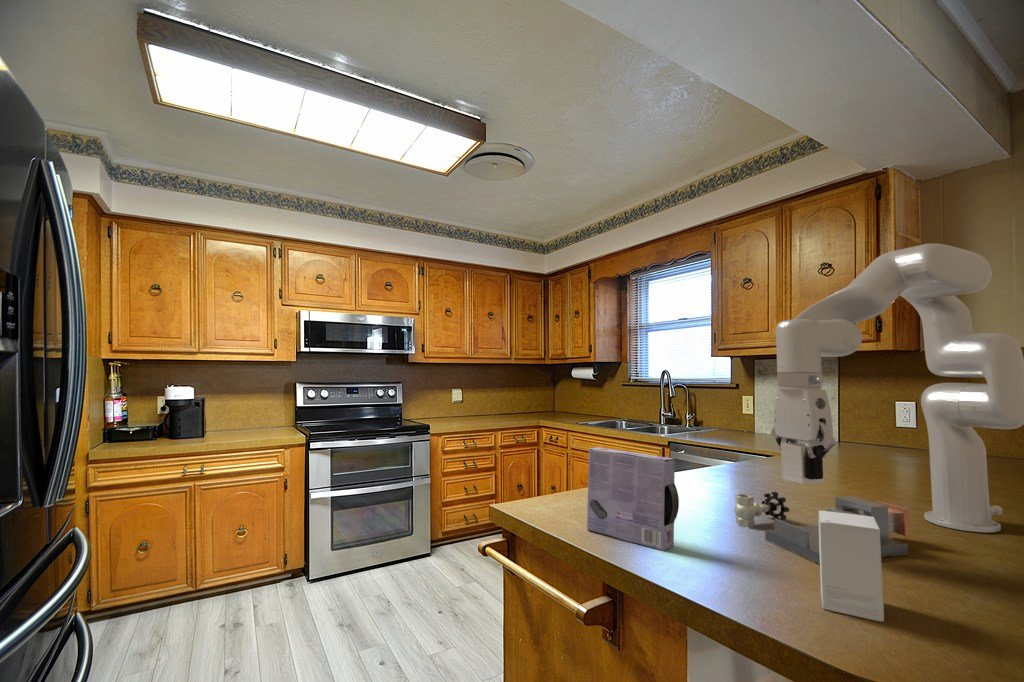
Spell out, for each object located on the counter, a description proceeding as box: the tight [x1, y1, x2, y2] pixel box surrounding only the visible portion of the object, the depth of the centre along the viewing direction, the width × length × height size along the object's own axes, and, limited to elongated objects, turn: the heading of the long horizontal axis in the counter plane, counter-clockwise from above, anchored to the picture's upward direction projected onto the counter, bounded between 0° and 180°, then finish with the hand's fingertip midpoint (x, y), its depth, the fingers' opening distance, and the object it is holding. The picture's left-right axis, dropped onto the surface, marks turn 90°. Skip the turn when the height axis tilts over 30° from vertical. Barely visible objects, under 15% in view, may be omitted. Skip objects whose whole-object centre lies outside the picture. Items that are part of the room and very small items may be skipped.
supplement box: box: [818, 510, 885, 623], centre depth 72 cm, size 7×7×13 cm
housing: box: [780, 441, 825, 485], centre depth 94 cm, size 6×5×7 cm
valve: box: [734, 491, 790, 528], centre depth 110 cm, size 7×7×12 cm
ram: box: [827, 500, 911, 537], centre depth 97 cm, size 14×6×5 cm, turn 103°
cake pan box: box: [586, 446, 680, 552], centre depth 101 cm, size 19×5×18 cm, turn 47°
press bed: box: [764, 495, 909, 563], centre depth 95 cm, size 20×13×8 cm, turn 103°
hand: (802, 474), depth 94 cm, fingers closed on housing, 5 cm apart
